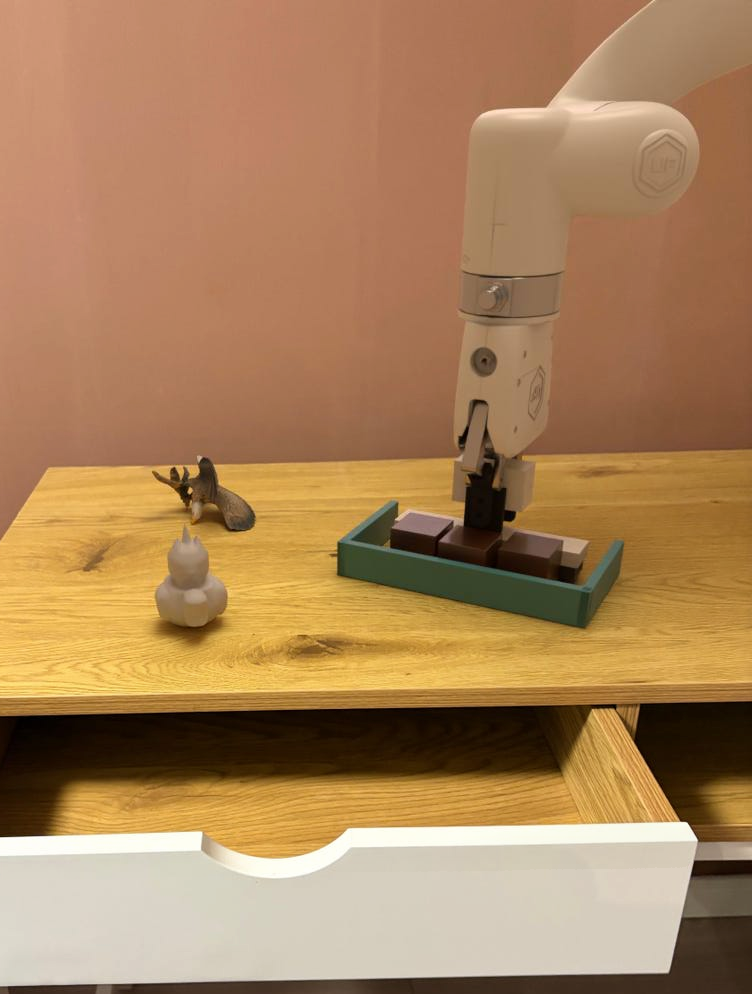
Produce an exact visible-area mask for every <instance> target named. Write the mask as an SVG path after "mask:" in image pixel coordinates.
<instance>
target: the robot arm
mask: <svg viewBox="0 0 752 994" xmlns="http://www.w3.org/2000/svg"><path fill="white" fill-rule="evenodd" d="M749 65H752V0H652V1H650V2H649V3H647V4H646V5H645V6H644V7H642V8H641V9H640V10H639V11H637V12H636V13H635V14H634V15H632V16H631V17H630V18H629V19H627V20H626V21H625V22H624V23H623V24H622V25H620V26H618V28H617V29H615V30H614V31H613V32H612V33H611V34H610V35H609V36H608V37H607V38H606V39H604V40H603V42H602V43H601V44H599V45H598V47H597V48H596V49H595V50H594V51H592V53H591V54H590V55H589V56H588V57H587V58H586V59H585V60H584V61H583V62H582V63H581V65H580V66H579V67H578V68H577V70H576V71H575V72H574V73H573V74H572V75H571V77H570V78H569V79H568V80H567V81H566V83H565V84H564V85H563V86H562V87H561V89H560V90H559V91H558V92H557V93H556V94H555V96H554V97H553V98H552V100H551V101H550V102H549V104H548V105H546V107H519V108H518V107H516V108H515V107H514V108H499V109H498V108H497V109H492V110H488V111H486V112H483V113H481V114H480V115H478V117H476V119H475V120H474V122H473V123H472V126H471V128H470V132H469V138H468V148H467V151H468V152H467V162H466V163H467V164H466V180H465V194H464V196H465V197H464V211H463V225H462V239H461V240H462V243H461V258H460V272H459V273H460V274H459V287H458V301H457V317H458V318H459V319H461V320H463V321H465V324H464V329H463V336H462V342H461V349H460V356H459V364H458V371H457V373H458V374H457V381H456V389H455V400H454V410H453V411H454V413H453V444H454V447H455V448H456V449H457V451H459V452H463V453H464V454H463V453H462V454H463V458H462V463H461V471H462V472H464V473H466V481H465V484H466V497H465V503H464V512H463V519H464V523H463V526H466V527H471V528H477V529H482V530H488V531H493V532H498V533H502V531H503V526H504V523H505V522H506V523H512V522H513V521H514V520H515V519H516V518H517V512H516V511H510V510H505V500H506V490H507V488H502V485H503V478H504V469H505V460H506V458H511V459H518V460H523V453H524V450H525V449H526V448H527V447H528V446H530V445H531V444H532V443H533V442H534V441H535V440H536V439H537V438H538V437H539V436H540V435H541V434H542V433H543V432H544V431H545V430H546V428H547V425H548V422H549V421H548V420H549V414H550V413H549V411H550V398H551V384H552V369H553V367H552V366H553V349H554V322H555V321H556V320H558V319H559V318H560V315H561V307H562V298H563V288H564V281H565V280H564V279H565V270H566V263H567V261H566V260H567V252H568V245H569V235H570V227H571V220H572V219H573V218H576V217H590V218H603V219H612V220H619V221H637V220H642V219H646V218H650V217H653V216H655V215H657V214H660V213H662V212H664V211H665V210H667V209H669V208H670V207H671V206H673V205H674V204H675V203H676V202H677V201H679V200H680V199H681V197H682V196H683V195H685V193H686V192H687V190H688V189H689V187H690V186H691V184H692V182H693V180H694V178H695V176H696V174H697V171H698V167H699V163H700V155H701V154H700V153H701V152H700V143H699V142H700V141H699V137H698V135H697V131H696V130H695V127H694V126H693V124H692V123H691V122H690V120H689V118H687V117H686V116H685V115H684V114H682V112H680V111H679V110H677V109H676V108H673V107H672V106H671V105H673V104H674V103H676V102H677V101H678V100H680V99H681V98H682V97H684V96H686V95H687V94H689V93H691V92H693V91H694V90H696V89H697V88H699V87H701V86H703V85H706V84H707V83H709V82H712V81H713V80H716V79H717V78H720V77H722V76H725V75H727V74H730V73H732V72H735V71H737V70H740V69H742V68H745V67H747V66H749ZM484 458H485V459H492V460H495V461H494V469H493V467H492V464H491V463H489V462H485V460H484Z"/></svg>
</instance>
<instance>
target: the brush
mask: <svg viewBox="0 0 752 994" xmlns="http://www.w3.org/2000/svg"><path fill="white" fill-rule="evenodd" d="M463 454H464V452H463V453H462V454H461V455H459V456H458V457H457V458H456V459H454V462H453V477H452V492H451V501H452V502H458V503H464V504H465V497H466V484H465V481H466V473H464V472H462V471H461V463H462V458H463ZM484 460H485V462H489V463H491V464H492V467H493V469H494V461H495V460H492V459H485V458H484ZM535 473H536V461H532V460H531V461H530V460H524V459H522V460H518V459H511V458H506V460H505V469H504V478H503V485H502V488H507V490H506V500H505V510H510V511H516V513H523V512H524V511H525V510H526V509H527V508H528V507H530V505H531V504H532V501H533V500H532V499H533V491H534V481H535ZM410 512H411V513H417V514H422V515H428V516H433V517H439V518H444V519H450V520H454V526H453V528H454V527H455V526H456V525H460V526H463V523H464V517H457V516H451V515H447V514H440V513H435V512H429V511H423V510H418V509H413V508H407V509H406V510H405V511H404V512H401V514H400V515H398V517H397V518H396V519H395V520H394V525H395V524H396V523H398V522H399V521H400V520H401V519H402V518H404V517H405V516H406V515H407V514H409V513H410ZM514 532H521V533H526V534H532V535H537V536H543V537H548V538H554V539H559V540H564V543H563V551H562V558H561V566H560V574H559V579H563V580H567V581H573V582H574V581H575V580H576V578H577V577H578V575H579V574H580V573H581V571H582V570H583V567H584V560H585V559H586V558H587V556H588V553H589V546H590V540H586V539H580V538H575V537H569V536H565V535H558V534H552V533H547V532H543V531H535V530H531V529H525V528H519V527H513V526H508V525H503V531H502V533H503V537H502V545H503V544H504V543H505V542H506V541H507V540H508V539H509V538H510V536H511V535H512V534H513V533H514Z"/></svg>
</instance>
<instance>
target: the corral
mask: <svg viewBox="0 0 752 994" xmlns="http://www.w3.org/2000/svg"><path fill="white" fill-rule="evenodd" d="M399 503H400V502H399V501H398V500H397V501H396V500H389V501H388V502H387V503H386V504H384V505H382V507H380V508H379V509H377V510H376V511H375V512H374V513H373V514H371V515H369V516H368V518H366V519H365V520H363V521H362V522H361V523H359V524H358V525H357V526H355V527H354V528H353V529H352V530H350V531H349V532H348V533H347V534H345V535H344V536H343V537H341V538H340V539H339V540H338V541H337V547H336V557H337V558H336V575H337V576H344V577H348V578H353V579H356V580H360V581H361V580H362V581H366V582H371V583H375V584H379V585H385V586H388V587H394V588H398V589H402V590H408V591H411V592H417V593H421V594H426V595H430V596H436V597H439V598H444V599H449V600H454V601H457V602H463V603H468V604H472V605H477V606H480V607H481V606H482V607H486V608H490V609H491V608H492V609H494V610H499V611H504V612H509V613H513V614H518V615H522V616H526V617H532V618H537V619H540V620H546V621H550V622H554V623H560V624H563V625H569V626H573V627H577V628H583V629H587V626H588V625H589V623H590V622H591V620H592V619H593V617H594V615H595V613H596V612H597V610H598V609H599V607H601V604H602V602H603V601H604V600H605V598H606V596H607V594H608V593H609V591H610V590H611V588H612V587H613V585H614V583H615V581H616V580H617V579H618V576H620V573H621V567H622V561H623V555H624V548H625V543H626V542H625V540H621V539H614V540H613V542H612V543H611V544H610V546H609V548H608V549H607V551H606V552H605V554H604V555H603V557H602V558H601V559H600V561H599V563H597V565H596V567H595V568H594V570H593V571H592V573H591V574H590V576H589V577H588V578H587V580H586V582H585V583H584V584H583V585H579V584H573V583H567V582H562V581H559V582H558V581H553V580H548V579H543V578H538V577H533V576H528V575H523V574H518V573H513V572H508V571H503V570H498V569H493V568H488V567H483V566H478V565H472V564H467V563H462V562H457V561H452V560H447V559H442V558H437V557H432V556H427V555H422V554H417V553H412V552H407V551H402V550H397V549H392V548H390V547H387V546H383V545H384V544H385V543H386V542H388V541H389V540H390V533H391V527H393V526H394V520H395V519H396V518H397V517H399V505H400V504H399Z"/></svg>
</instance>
